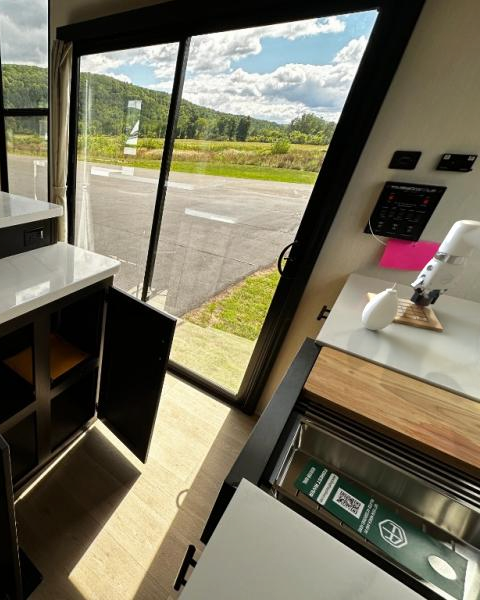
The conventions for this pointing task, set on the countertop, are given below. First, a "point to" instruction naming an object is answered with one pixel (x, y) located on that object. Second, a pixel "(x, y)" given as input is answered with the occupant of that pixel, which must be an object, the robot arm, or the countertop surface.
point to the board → (414, 314)
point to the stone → (426, 300)
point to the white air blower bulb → (381, 310)
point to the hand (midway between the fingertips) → (421, 302)
